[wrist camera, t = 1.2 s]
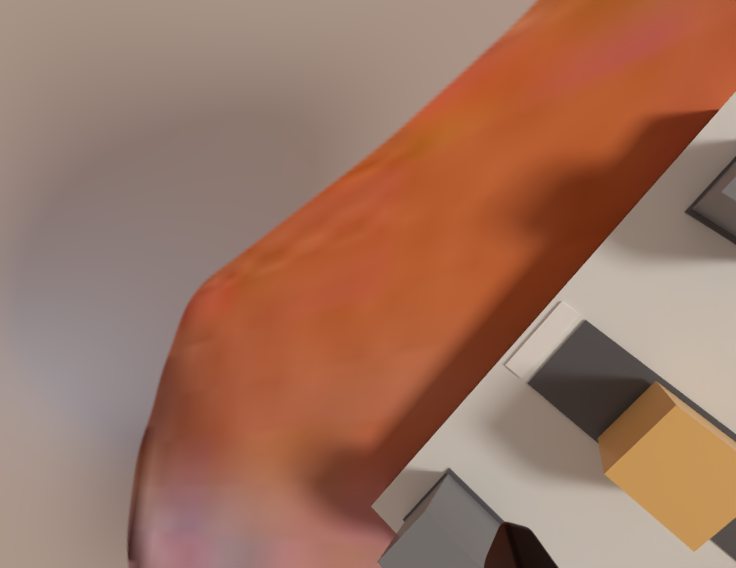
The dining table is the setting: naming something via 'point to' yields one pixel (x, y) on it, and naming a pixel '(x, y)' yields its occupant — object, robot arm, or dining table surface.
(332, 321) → the dining table surface
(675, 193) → the breaker panel
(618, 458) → the handle
